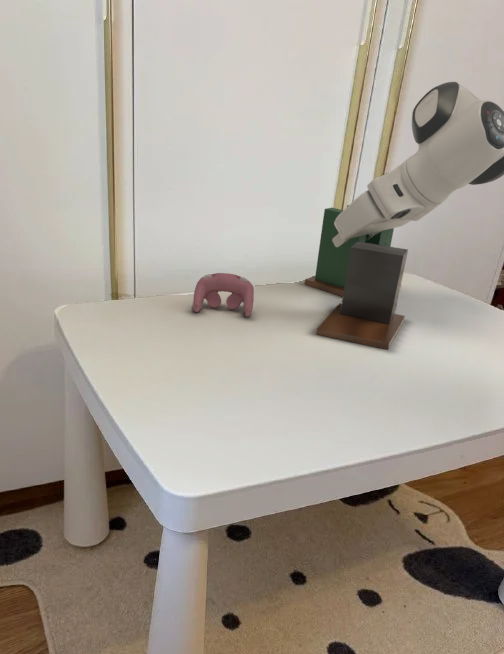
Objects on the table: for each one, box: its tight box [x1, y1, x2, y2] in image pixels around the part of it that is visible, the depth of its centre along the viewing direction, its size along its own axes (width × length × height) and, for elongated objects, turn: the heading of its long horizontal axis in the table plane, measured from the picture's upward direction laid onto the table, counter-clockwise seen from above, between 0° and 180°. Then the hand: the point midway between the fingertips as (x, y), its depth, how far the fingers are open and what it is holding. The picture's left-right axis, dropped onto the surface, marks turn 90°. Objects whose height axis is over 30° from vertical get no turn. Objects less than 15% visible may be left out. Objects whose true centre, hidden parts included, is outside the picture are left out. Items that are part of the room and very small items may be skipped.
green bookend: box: [304, 204, 395, 297], centre depth 117 cm, size 11×14×14 cm
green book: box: [314, 207, 366, 288], centre depth 114 cm, size 8×2×13 cm, turn 44°
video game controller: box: [192, 272, 255, 317], centre depth 104 cm, size 10×5×7 cm, turn 83°
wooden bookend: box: [316, 242, 409, 350], centre depth 98 cm, size 11×14×12 cm
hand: (349, 240), depth 112 cm, fingers open, 7 cm apart
